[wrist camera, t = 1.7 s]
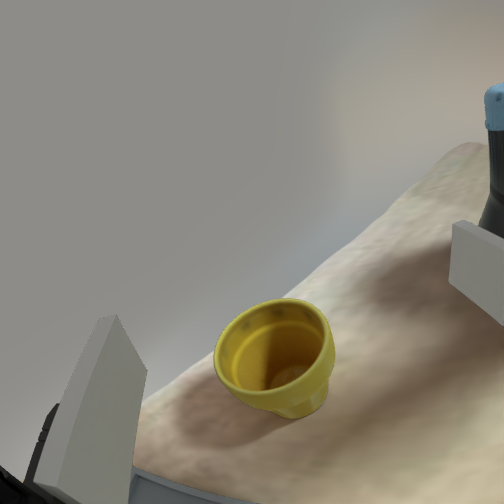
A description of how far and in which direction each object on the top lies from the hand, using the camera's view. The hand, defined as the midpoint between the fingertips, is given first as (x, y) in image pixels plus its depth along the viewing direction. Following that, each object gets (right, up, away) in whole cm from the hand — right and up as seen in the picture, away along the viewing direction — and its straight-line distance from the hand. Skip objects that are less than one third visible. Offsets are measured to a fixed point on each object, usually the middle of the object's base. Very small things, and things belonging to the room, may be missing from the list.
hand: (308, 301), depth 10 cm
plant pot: (+3, -14, +19) cm, 24 cm away
